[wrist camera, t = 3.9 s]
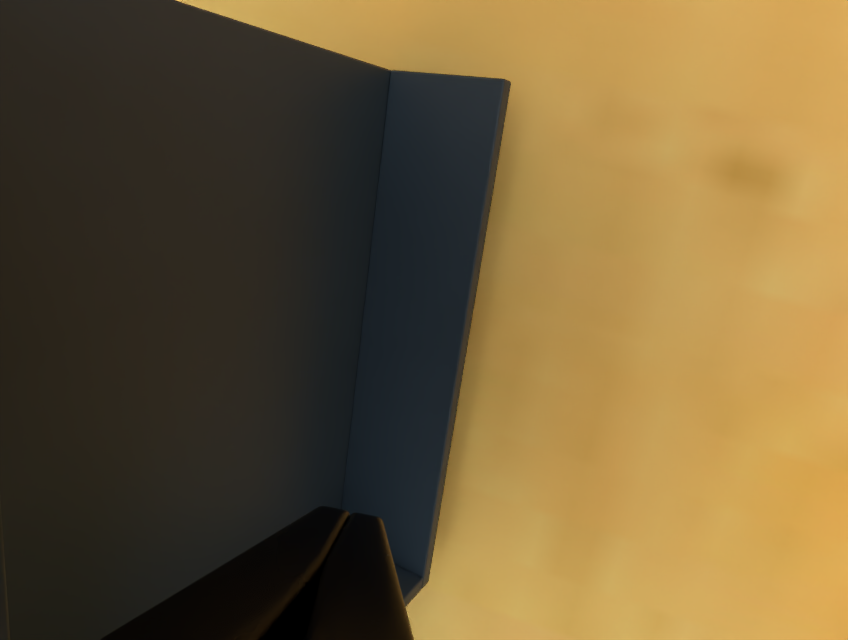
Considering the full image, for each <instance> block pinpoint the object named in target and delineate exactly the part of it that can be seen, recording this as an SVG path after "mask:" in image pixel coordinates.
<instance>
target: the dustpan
mask: <svg viewBox="0 0 848 640" xmlns="http://www.w3.org/2000/svg"><path fill="white" fill-rule="evenodd" d="M510 85H511V82H510V81H508V80H505V79H499V78H486V77H473V76H460V75H447V74H434V73H422V72H409V71H396V70H392V71H391V70H388V69H385V68H382V67H379V66H376V65H373V64H370V63H366V62H363V61H360V60H357V59H354V58H351V57H348V56H345V55H342V54H339V53H336V52H333V51H329V50H326V49H323V48H320V47H317V46H314V45H311V44H308V43H305V42H302V41H299V40H296V39H292V38H289V37H286V36H283V35H280V34H277V33H274V32H271V31H268V30H265V29H262V28H259V27H255V26H252V25H249V24H246V23H243V22H240V21H237V20H234V19H231V18H228V17H225V16H222V15H218V14H215V13H212V12H209V11H206V10H203V9H200V8H197V7H194V6H191V5H188V4H185V3H181V2H178V1H175V0H0V640H101V638H103V637H104V636H106V635H108V634H109V633H111V632H113V631H114V630H116V629H118V628H119V627H121V626H123V625H124V624H126V623H127V622H129V621H131V620H132V619H134V618H136V617H137V616H139V615H141V614H142V613H144V612H146V611H147V610H149V609H151V608H152V607H154V606H156V605H157V604H159V603H160V602H162V601H164V600H165V599H167V598H169V597H170V596H172V595H174V594H175V593H177V592H179V591H180V590H182V589H184V588H185V587H187V586H188V585H190V584H192V583H193V582H195V581H197V580H198V579H200V578H202V577H203V576H205V575H207V574H208V573H210V572H212V571H213V570H215V569H217V568H218V567H220V566H221V565H223V564H225V563H226V562H228V561H230V560H231V559H233V558H235V557H236V556H238V555H240V554H241V553H243V552H245V551H246V550H248V549H250V548H251V547H253V546H254V545H256V544H258V543H259V542H261V541H263V540H264V539H266V538H268V537H269V536H271V535H273V534H274V533H276V532H278V531H279V530H281V529H283V528H284V527H286V526H287V525H289V524H291V523H292V522H294V521H296V520H297V519H299V518H301V517H302V516H304V515H306V514H307V513H309V512H311V511H312V510H314V509H316V508H317V507H319V506H328V507H333V508H338V509H343V510H347V511H348V512H349V513H350V515H351V514H352V513H355V512H358V513H363V514H368V515H373V516H378V517H380V518H381V519H382V521H383V523H384V527H385V531H386V535H387V539H388V543H389V547H390V550H391V554H392V558H393V562H394V566H395V570H396V573H397V577H398V581H399V585H400V589H401V593H402V596H403V600H404V604H405V607H406V606H407V604H408V603H409V602H410V601H411V600H412V599H413V598H414V597H415V596H416V595H417V593H418V592H419V591H420V590H421V588H423V587H424V586H425V585H426V584H427V582H428V580H429V574H430V568H431V562H432V556H433V550H434V544H435V538H436V532H437V526H438V520H439V514H440V508H441V501H442V495H443V489H444V483H445V477H446V471H447V465H448V459H449V453H450V447H451V441H452V435H453V429H454V423H455V417H456V411H457V405H458V399H459V393H460V387H461V381H462V375H463V369H464V363H465V357H466V351H467V345H468V339H469V333H470V327H471V320H472V314H473V308H474V302H475V296H476V290H477V284H478V278H479V272H480V266H481V260H482V254H483V248H484V242H485V236H486V230H487V224H488V218H489V212H490V206H491V200H492V194H493V188H494V182H495V176H496V170H497V164H498V158H499V152H500V146H501V139H502V133H503V127H504V121H505V115H506V109H507V103H508V97H509V91H510Z"/></svg>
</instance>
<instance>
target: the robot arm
mask: <svg viewBox="0 0 848 640" xmlns="http://www.w3.org/2000/svg"><path fill="white" fill-rule="evenodd" d="M101 640H414V639H413V635H412V631H411V627H410V623H409V619H408V616H407V612H406V608H405V604H404V600H403V596H402V593H401V589H400V585H399V581H398V577H397V573H396V570H395V566H394V562H393V558H392V554H391V550H390V547H389V543H388V539H387V535H386V531H385V527H384V523H383V521H382V519H381V518H380V517H378V516H373V515H368V514H363V513H358V512H355V513H352V514H351V515H350V513H349V512H348V511H347V510H343V509H338V508H333V507H328V506H319V507H317V508H316V509H314V510H312V511H311V512H309V513H307V514H306V515H304V516H302V517H301V518H299V519H297V520H296V521H294V522H292V523H291V524H289V525H287V526H286V527H284V528H283V529H281V530H279V531H278V532H276V533H274V534H273V535H271V536H269V537H268V538H266V539H264V540H263V541H261V542H259V543H258V544H256V545H254V546H253V547H251V548H250V549H248V550H246V551H245V552H243V553H241V554H240V555H238V556H236V557H235V558H233V559H231V560H230V561H228V562H226V563H225V564H223V565H221V566H220V567H218V568H217V569H215V570H213V571H212V572H210V573H208V574H207V575H205V576H203V577H202V578H200V579H198V580H197V581H195V582H193V583H192V584H190V585H188V586H187V587H185V588H184V589H182V590H180V591H179V592H177V593H175V594H174V595H172V596H170V597H169V598H167V599H165V600H164V601H162V602H160V603H159V604H157V605H156V606H154V607H152V608H151V609H149V610H147V611H146V612H144V613H142V614H141V615H139V616H137V617H136V618H134V619H132V620H131V621H129V622H127V623H126V624H124V625H123V626H121V627H119V628H118V629H116V630H114V631H113V632H111V633H109V634H108V635H106V636H104V637H103V638H101Z"/></svg>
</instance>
